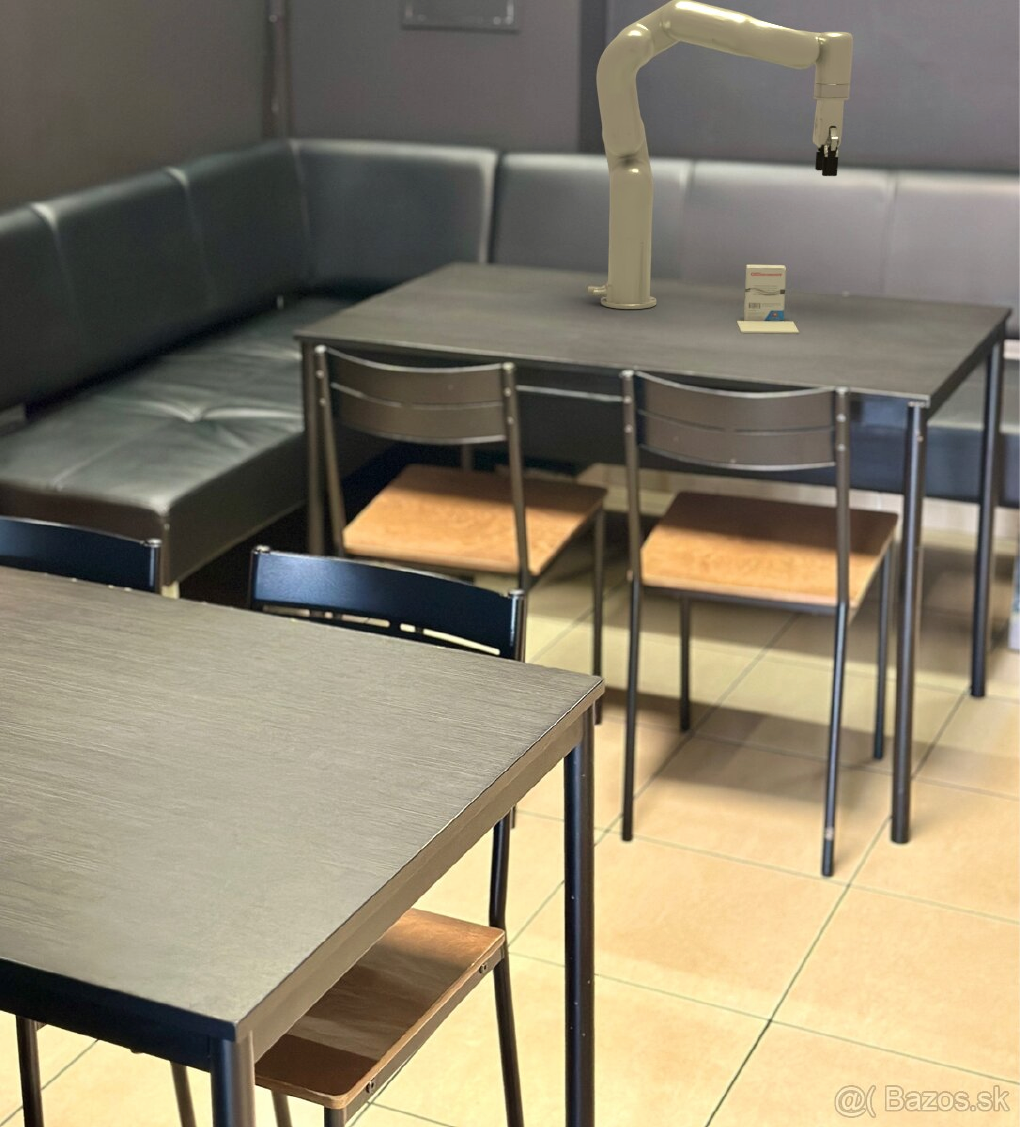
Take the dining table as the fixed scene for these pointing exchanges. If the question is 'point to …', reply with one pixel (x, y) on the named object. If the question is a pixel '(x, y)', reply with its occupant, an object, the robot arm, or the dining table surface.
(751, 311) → the ink box
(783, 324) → the mat
